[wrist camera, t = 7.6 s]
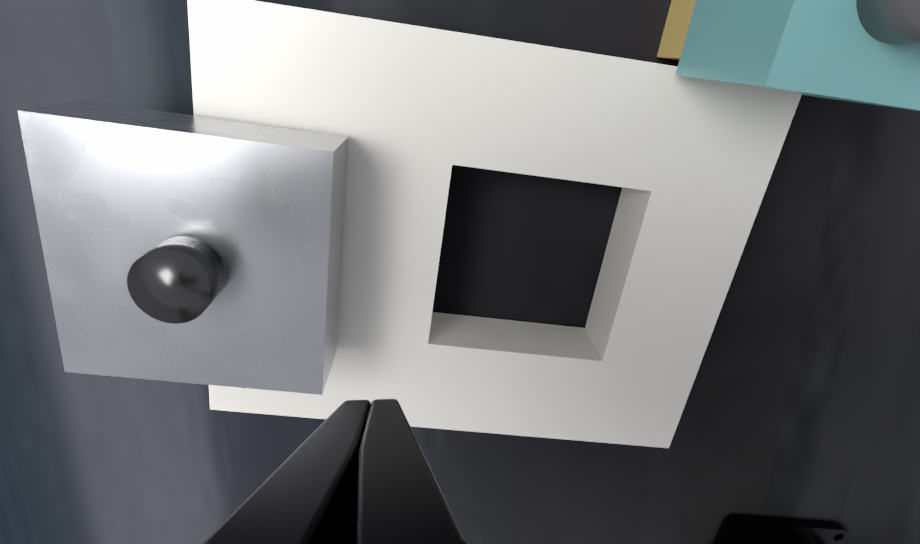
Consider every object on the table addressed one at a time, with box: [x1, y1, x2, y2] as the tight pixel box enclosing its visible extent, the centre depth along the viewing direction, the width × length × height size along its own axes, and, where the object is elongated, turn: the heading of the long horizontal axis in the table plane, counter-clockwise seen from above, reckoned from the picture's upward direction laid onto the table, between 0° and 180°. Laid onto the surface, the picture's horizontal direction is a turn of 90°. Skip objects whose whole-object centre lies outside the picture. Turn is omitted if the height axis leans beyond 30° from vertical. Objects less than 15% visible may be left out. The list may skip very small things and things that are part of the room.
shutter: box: [18, 100, 349, 395], centre depth 15 cm, size 8×8×4 cm
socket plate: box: [187, 0, 801, 448], centre depth 19 cm, size 18×14×2 cm
